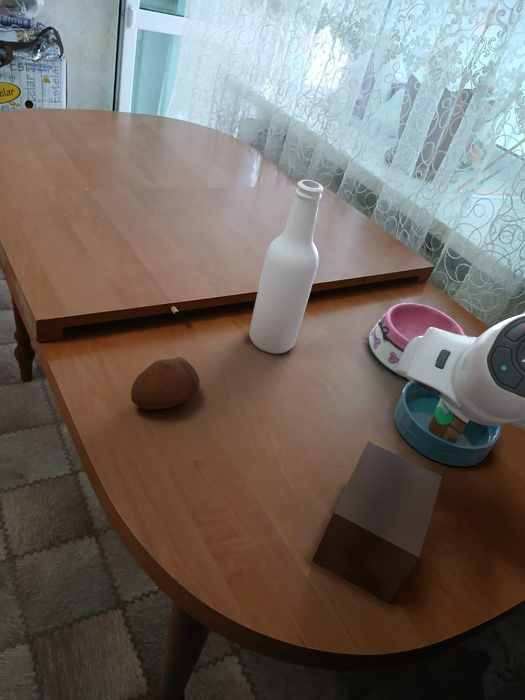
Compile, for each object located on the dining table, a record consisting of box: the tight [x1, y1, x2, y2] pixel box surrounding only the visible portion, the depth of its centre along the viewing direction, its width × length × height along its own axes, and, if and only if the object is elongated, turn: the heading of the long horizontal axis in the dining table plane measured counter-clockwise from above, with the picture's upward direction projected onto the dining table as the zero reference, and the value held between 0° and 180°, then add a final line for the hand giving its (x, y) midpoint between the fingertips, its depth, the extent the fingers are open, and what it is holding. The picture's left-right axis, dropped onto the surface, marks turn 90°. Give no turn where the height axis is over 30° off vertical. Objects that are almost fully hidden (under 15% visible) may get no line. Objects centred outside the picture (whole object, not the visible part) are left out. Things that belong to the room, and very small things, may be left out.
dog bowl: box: [367, 302, 466, 382], centre depth 103 cm, size 18×19×7 cm
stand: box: [312, 440, 443, 604], centre depth 67 cm, size 10×13×10 cm
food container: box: [429, 398, 469, 444], centre depth 86 cm, size 12×6×10 cm, turn 144°
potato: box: [130, 356, 201, 411], centre depth 80 cm, size 8×12×8 cm, turn 138°
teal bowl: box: [393, 381, 502, 467], centre depth 88 cm, size 16×16×4 cm
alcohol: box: [248, 179, 324, 354], centre depth 91 cm, size 9×9×30 cm
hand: (468, 398), depth 72 cm, fingers open, 8 cm apart
